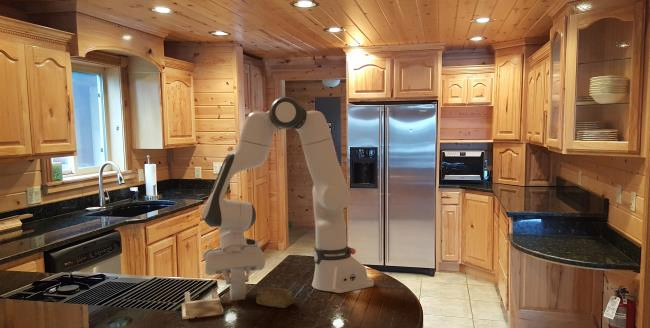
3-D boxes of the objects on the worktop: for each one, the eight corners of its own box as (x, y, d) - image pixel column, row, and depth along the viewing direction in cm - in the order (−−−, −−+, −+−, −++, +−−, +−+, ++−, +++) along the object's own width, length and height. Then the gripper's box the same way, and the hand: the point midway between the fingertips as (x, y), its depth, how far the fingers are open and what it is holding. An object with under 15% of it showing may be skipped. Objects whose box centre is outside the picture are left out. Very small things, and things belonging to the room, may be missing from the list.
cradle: (219, 300, 149) (219, 288, 149) (223, 314, 138) (223, 300, 137) (181, 305, 145) (181, 292, 145) (182, 319, 134) (182, 305, 134)
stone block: (286, 310, 141) (286, 294, 141) (254, 306, 145) (254, 290, 145) (294, 303, 146) (294, 288, 146) (263, 299, 150) (262, 285, 150)
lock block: (243, 294, 155) (242, 265, 155) (245, 299, 150) (244, 269, 150) (229, 295, 154) (229, 266, 153) (231, 300, 149) (230, 271, 148)
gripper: (203, 245, 154) (205, 281, 145) (262, 240, 161) (268, 274, 152) (202, 254, 159) (205, 290, 150) (260, 249, 165) (266, 283, 156)
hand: (237, 282), depth 151 cm, fingers closed on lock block, 4 cm apart
